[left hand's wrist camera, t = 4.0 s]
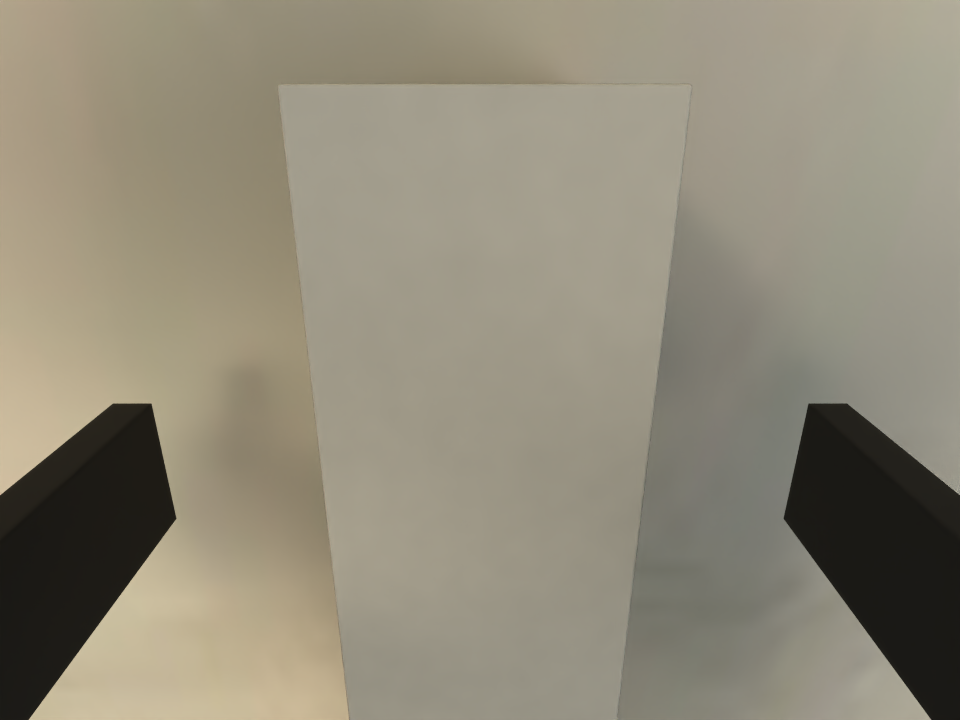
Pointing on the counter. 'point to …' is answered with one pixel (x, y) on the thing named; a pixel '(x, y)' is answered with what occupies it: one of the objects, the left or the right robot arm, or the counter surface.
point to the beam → (484, 379)
